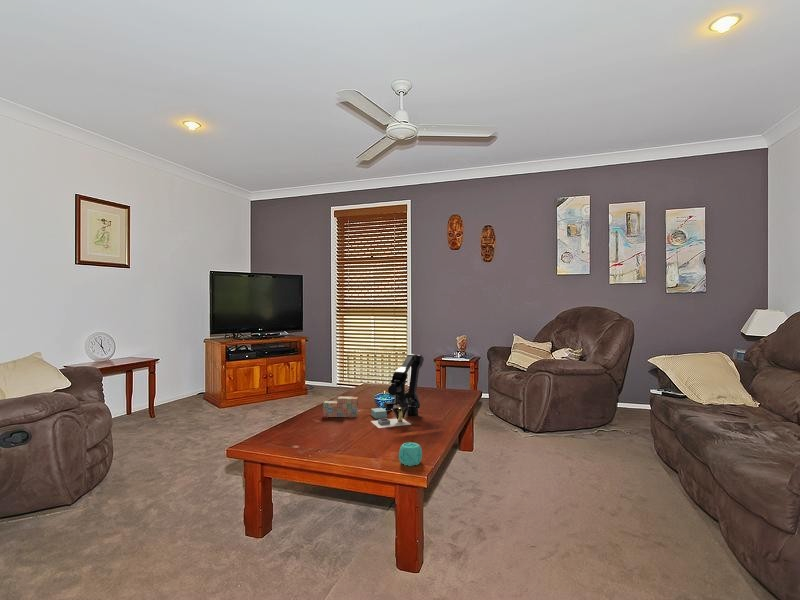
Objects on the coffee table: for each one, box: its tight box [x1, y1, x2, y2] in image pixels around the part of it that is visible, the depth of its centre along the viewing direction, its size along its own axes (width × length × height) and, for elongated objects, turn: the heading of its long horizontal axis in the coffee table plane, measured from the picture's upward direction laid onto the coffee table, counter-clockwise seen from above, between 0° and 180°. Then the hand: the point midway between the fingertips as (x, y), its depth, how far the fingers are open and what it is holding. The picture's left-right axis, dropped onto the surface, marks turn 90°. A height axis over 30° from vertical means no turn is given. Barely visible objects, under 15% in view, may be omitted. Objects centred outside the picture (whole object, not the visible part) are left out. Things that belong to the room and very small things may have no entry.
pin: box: [397, 407, 403, 422], centre depth 258 cm, size 3×3×8 cm
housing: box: [370, 407, 388, 420], centre depth 270 cm, size 7×9×6 cm
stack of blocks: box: [322, 396, 359, 418], centre depth 275 cm, size 21×6×12 cm, turn 85°
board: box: [370, 417, 411, 429], centre depth 255 cm, size 20×15×4 cm
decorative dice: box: [398, 442, 423, 467], centre depth 196 cm, size 8×8×8 cm
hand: (400, 418), depth 258 cm, fingers open, 3 cm apart
